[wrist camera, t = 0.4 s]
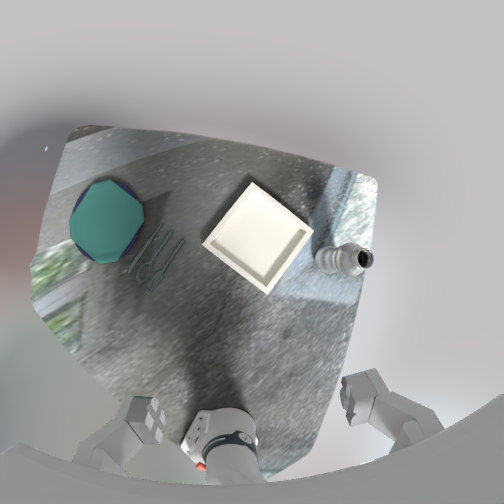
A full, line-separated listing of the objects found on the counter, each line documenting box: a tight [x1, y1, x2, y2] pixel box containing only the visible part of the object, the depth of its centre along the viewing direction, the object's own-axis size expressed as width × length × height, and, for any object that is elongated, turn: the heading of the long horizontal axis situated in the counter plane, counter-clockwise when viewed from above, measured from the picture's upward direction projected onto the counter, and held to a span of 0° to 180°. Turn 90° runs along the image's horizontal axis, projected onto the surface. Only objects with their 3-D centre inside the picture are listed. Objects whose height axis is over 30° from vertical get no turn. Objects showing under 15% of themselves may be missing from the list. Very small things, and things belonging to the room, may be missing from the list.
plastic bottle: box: [315, 243, 374, 276], centre depth 55 cm, size 6×7×20 cm
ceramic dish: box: [202, 182, 314, 295], centre depth 62 cm, size 18×18×3 cm
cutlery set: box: [69, 179, 185, 292], centre depth 59 cm, size 20×30×2 cm, turn 54°
